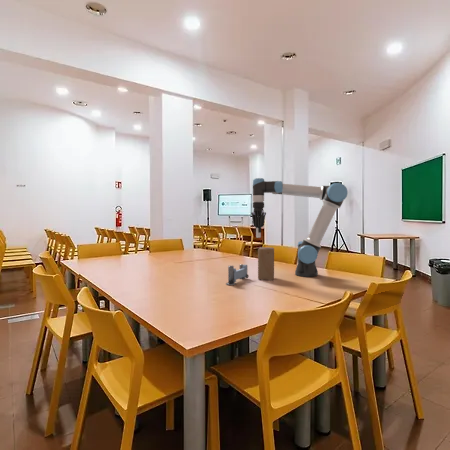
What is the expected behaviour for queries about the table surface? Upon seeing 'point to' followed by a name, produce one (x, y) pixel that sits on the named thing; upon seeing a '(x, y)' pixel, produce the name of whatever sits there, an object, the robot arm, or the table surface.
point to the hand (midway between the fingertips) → (258, 237)
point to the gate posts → (232, 275)
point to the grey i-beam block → (240, 273)
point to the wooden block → (266, 263)
